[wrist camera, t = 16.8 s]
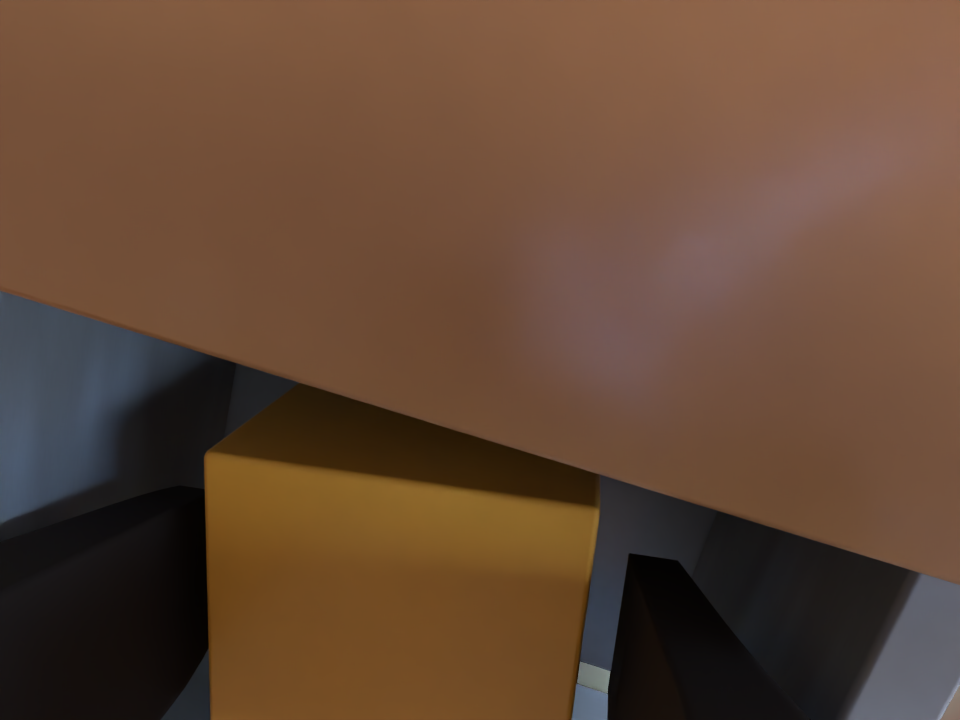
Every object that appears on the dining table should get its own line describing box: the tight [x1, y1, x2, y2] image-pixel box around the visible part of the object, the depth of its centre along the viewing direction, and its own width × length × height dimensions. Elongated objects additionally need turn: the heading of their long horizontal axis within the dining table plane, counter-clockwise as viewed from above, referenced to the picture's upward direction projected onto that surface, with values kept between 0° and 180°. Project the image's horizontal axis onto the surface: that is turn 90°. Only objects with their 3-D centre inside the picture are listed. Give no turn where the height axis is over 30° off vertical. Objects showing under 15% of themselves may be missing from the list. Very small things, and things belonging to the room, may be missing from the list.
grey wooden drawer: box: [0, 291, 960, 720], centre depth 11 cm, size 16×11×7 cm
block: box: [204, 383, 600, 720], centre depth 11 cm, size 4×4×4 cm
